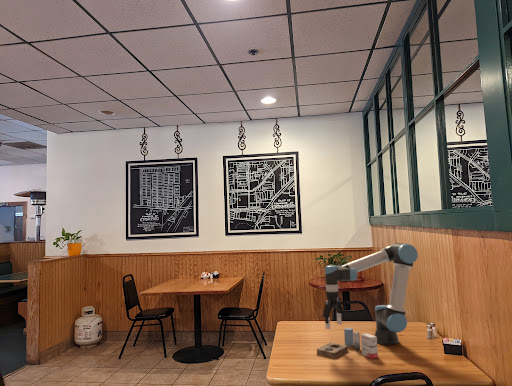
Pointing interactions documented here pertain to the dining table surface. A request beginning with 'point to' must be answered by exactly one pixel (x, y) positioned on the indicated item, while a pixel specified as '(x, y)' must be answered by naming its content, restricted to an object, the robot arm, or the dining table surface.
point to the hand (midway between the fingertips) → (333, 326)
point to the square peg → (348, 336)
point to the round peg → (356, 340)
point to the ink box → (369, 345)
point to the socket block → (332, 350)
